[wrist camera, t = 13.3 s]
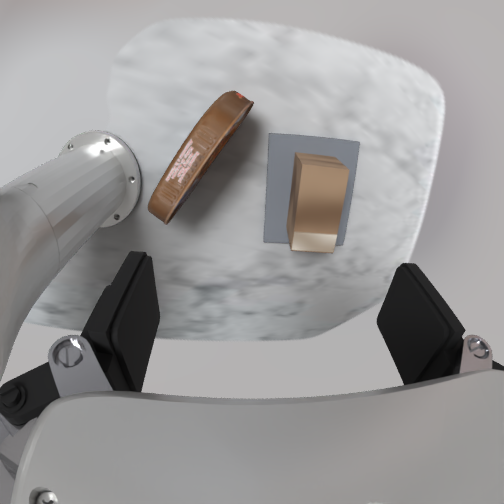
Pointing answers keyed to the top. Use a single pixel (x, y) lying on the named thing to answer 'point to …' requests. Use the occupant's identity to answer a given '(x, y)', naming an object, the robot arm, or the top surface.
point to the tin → (198, 154)
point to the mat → (282, 171)
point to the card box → (316, 202)
